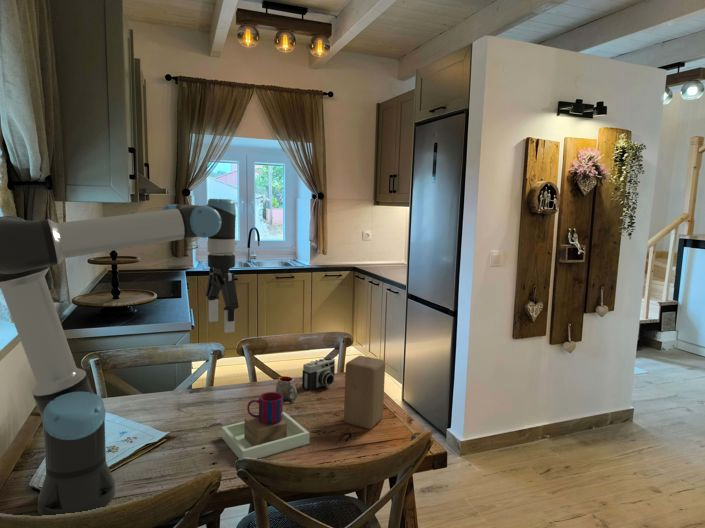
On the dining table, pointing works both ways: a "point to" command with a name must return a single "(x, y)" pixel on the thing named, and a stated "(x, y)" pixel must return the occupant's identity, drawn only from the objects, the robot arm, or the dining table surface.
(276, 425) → the walnut block
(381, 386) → the wooden block
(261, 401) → the cup
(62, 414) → the robot arm
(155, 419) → the dining table surface
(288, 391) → the mug
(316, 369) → the camera
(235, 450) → the tray
